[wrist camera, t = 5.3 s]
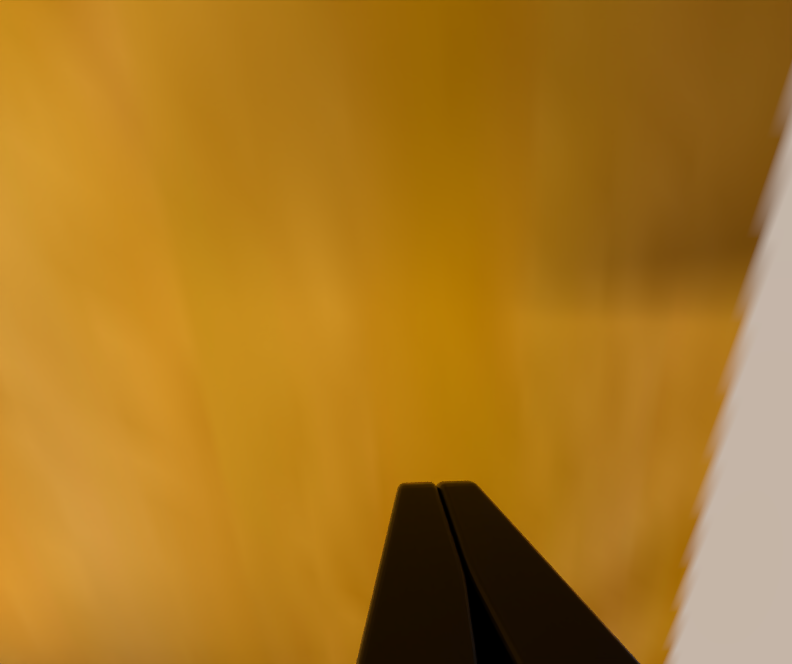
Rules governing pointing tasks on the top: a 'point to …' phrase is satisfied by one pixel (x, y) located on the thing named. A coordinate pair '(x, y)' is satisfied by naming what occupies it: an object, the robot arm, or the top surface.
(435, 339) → the top surface
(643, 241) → the top surface
